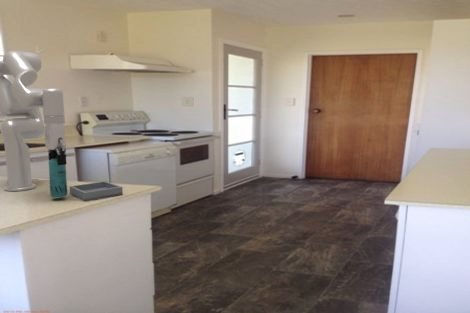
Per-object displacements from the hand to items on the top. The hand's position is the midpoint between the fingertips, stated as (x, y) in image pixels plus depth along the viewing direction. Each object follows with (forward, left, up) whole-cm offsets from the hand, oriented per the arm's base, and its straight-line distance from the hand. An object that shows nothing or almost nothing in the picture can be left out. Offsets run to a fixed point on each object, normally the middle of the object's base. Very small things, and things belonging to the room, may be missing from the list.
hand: (57, 163), depth 155 cm
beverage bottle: (0, 0, -15) cm, 15 cm away
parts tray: (+3, +14, -15) cm, 20 cm away
